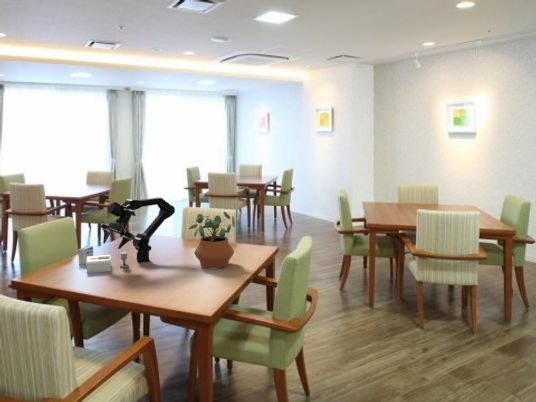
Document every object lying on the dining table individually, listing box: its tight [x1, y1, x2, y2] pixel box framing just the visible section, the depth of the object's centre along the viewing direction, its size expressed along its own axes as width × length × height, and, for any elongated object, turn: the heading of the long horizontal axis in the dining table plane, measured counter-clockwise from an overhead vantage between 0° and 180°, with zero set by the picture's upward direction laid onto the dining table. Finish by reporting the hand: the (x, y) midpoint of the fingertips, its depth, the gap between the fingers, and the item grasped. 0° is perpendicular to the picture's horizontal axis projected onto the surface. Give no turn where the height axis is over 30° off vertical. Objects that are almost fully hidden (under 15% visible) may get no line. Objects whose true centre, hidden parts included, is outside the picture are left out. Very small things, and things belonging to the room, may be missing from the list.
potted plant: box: [188, 211, 235, 269], centre depth 251 cm, size 23×28×30 cm
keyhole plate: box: [85, 254, 112, 274], centre depth 242 cm, size 12×12×6 cm
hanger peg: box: [119, 250, 129, 269], centre depth 246 cm, size 4×6×8 cm
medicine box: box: [77, 245, 94, 265], centre depth 254 cm, size 8×4×9 cm, turn 168°
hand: (111, 246), depth 244 cm, fingers open, 9 cm apart
